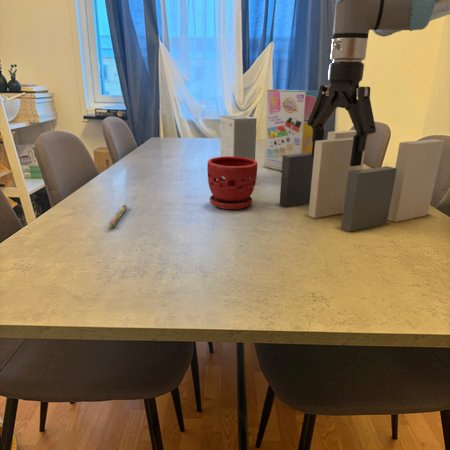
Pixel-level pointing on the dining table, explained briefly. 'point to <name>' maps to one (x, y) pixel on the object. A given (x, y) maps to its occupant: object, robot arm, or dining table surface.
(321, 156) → the white book
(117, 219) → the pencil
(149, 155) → the dining table surface
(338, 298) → the dining table surface
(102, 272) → the dining table surface
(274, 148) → the game box
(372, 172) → the grey books
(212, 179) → the flower pot
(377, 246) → the dining table surface
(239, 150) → the hard drive box
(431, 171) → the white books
